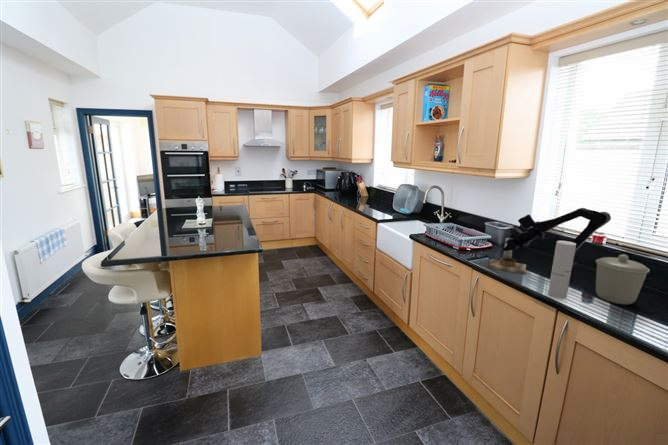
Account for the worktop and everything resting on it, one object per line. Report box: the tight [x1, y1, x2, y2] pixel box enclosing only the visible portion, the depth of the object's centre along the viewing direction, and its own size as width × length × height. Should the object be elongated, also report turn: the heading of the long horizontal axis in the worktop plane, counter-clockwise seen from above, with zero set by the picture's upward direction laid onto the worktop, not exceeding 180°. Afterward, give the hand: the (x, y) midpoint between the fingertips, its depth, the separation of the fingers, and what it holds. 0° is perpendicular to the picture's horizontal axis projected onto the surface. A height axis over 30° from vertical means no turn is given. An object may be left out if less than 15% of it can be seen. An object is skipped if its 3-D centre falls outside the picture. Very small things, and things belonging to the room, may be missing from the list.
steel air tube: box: [502, 237, 513, 259], centre depth 196 cm, size 5×5×14 cm
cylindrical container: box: [547, 240, 576, 300], centre depth 148 cm, size 7×7×25 cm
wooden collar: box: [499, 257, 517, 267], centre depth 186 cm, size 8×8×3 cm
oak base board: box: [488, 258, 527, 275], centre depth 187 cm, size 18×14×2 cm
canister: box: [595, 254, 650, 305], centre depth 145 cm, size 18×18×21 cm
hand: (507, 249), depth 196 cm, fingers open, 9 cm apart
